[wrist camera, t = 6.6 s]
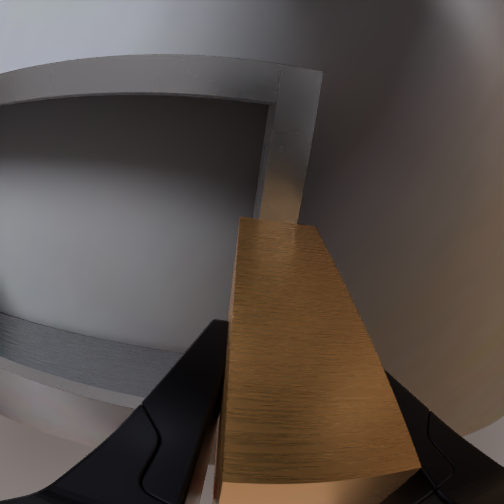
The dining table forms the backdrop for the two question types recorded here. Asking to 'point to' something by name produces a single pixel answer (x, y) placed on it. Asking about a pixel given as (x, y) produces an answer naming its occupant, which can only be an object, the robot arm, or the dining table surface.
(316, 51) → the dining table surface
